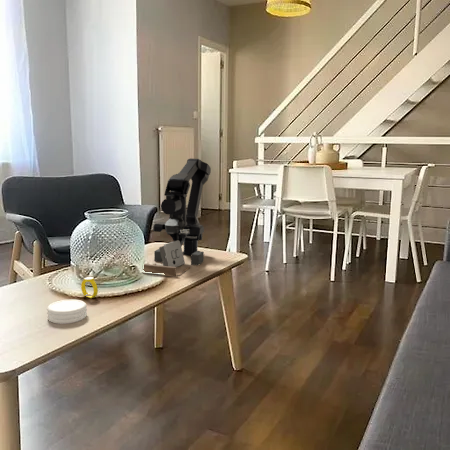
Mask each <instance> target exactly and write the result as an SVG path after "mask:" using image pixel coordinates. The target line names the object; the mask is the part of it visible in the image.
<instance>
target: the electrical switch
mask: <svg viewBox="0 0 450 450" xmlns="http://www.w3.org/2000/svg"><path fill="white" fill-rule="evenodd" d="M158 249H160V254H161V258H162V266H171V267H176V268H177V267H180V266H182V265H184V264H185V263H186V261H185V258H184V257H185V256H184V254H183V248H182V247H181V244H180V241H179V240H177V241H170V242H167V243H165V244H163V245H162V246H159V247H158ZM164 256H165V257H164Z"/></svg>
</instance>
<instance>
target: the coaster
mask: <svg viewBox="0 0 450 450" xmlns="http://www.w3.org/2000/svg"><path fill="white" fill-rule="evenodd" d="M87 306H88V305H87V303H86V302H85V301H83V300H80V299H62V300H58V301H54V302H51V303H50V304H49V305H47V308H46V310H47V313H46V314H47V316H46V317H47V320H48V321H49V322H51V323H54V324H59V325H60V324H61V325H62V324H63V325H65V324H73V323H74V324H75V323H77V322H81V321H82V320H84V319H86V317H87V315H88V314H87V311H88V309H87Z"/></svg>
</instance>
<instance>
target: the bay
mask: <svg viewBox="0 0 450 450" xmlns="http://www.w3.org/2000/svg"><path fill="white" fill-rule="evenodd" d="M143 264H144V269H143V268H142V270H144V271H145V272H152V273H164V274H165V275H166V277H167V276H168V277H177V276H179V277H180V276H182V275H183V274H184V273H185V272H186V271H188V270H190V268H191V267H190V266H187V267H185V268H184V269H182V270H181V271H180V272H179V273H178V274H177V267H171V266H163V265H161V264H159V265H158V264H157V263H152V264H148V263H143ZM165 275H164V276H165Z"/></svg>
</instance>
